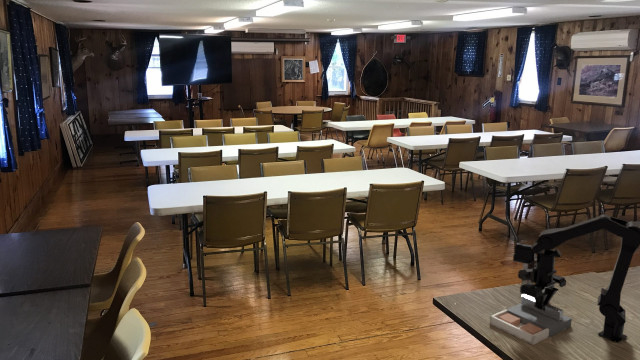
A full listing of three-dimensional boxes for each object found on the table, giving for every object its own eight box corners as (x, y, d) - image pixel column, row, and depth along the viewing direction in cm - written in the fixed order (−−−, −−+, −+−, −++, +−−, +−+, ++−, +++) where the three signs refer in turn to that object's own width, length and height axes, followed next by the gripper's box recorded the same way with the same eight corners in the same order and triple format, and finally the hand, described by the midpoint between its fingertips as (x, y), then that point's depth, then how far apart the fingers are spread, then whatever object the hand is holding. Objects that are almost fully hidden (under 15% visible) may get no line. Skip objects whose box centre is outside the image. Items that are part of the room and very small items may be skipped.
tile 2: (528, 328, 172) (529, 322, 171) (541, 334, 167) (542, 329, 167) (519, 332, 169) (520, 326, 168) (532, 338, 165) (533, 333, 164)
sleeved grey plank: (524, 302, 184) (525, 293, 183) (563, 318, 172) (563, 309, 171) (520, 304, 183) (520, 295, 182) (559, 321, 171) (559, 312, 170)
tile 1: (507, 318, 179) (508, 313, 178) (519, 323, 175) (520, 318, 174) (498, 322, 176) (498, 316, 176) (510, 327, 172) (511, 322, 172)
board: (527, 307, 188) (528, 300, 187) (571, 326, 174) (571, 318, 173) (505, 317, 181) (506, 309, 180) (548, 337, 167) (549, 328, 166)
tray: (505, 317, 181) (505, 309, 180) (548, 337, 167) (549, 329, 166) (489, 323, 176) (490, 315, 175) (532, 345, 162) (533, 336, 162)
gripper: (540, 254, 185) (536, 293, 189) (508, 264, 175) (505, 306, 179) (568, 263, 176) (564, 304, 179) (536, 275, 166) (533, 318, 170)
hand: (541, 307), depth 177 cm, fingers closed on sleeved grey plank, 2 cm apart
